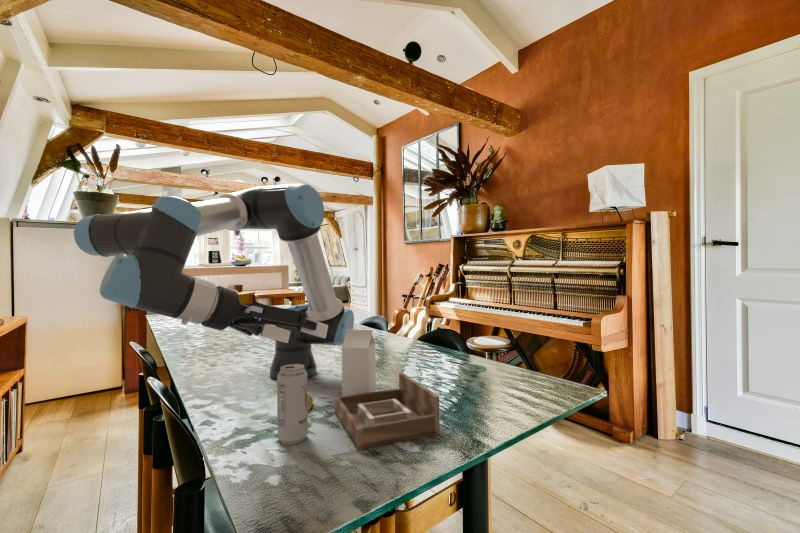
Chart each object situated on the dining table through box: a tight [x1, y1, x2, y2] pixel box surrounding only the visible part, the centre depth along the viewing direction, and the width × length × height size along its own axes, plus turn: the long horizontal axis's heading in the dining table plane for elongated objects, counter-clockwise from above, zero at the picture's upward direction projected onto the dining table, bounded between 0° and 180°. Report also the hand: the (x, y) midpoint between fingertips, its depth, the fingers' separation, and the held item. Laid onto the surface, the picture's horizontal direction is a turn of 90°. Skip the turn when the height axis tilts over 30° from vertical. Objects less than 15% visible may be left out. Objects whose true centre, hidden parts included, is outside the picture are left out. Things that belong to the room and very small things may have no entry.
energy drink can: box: [276, 364, 309, 446], centre depth 78 cm, size 6×6×15 cm
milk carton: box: [341, 329, 377, 396], centre depth 100 cm, size 7×7×19 cm
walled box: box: [334, 372, 440, 451], centre depth 86 cm, size 20×18×8 cm
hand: (306, 334), depth 81 cm, fingers open, 13 cm apart
